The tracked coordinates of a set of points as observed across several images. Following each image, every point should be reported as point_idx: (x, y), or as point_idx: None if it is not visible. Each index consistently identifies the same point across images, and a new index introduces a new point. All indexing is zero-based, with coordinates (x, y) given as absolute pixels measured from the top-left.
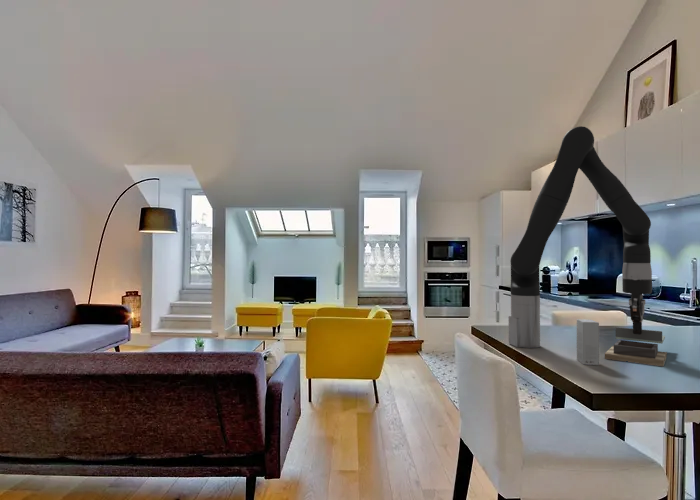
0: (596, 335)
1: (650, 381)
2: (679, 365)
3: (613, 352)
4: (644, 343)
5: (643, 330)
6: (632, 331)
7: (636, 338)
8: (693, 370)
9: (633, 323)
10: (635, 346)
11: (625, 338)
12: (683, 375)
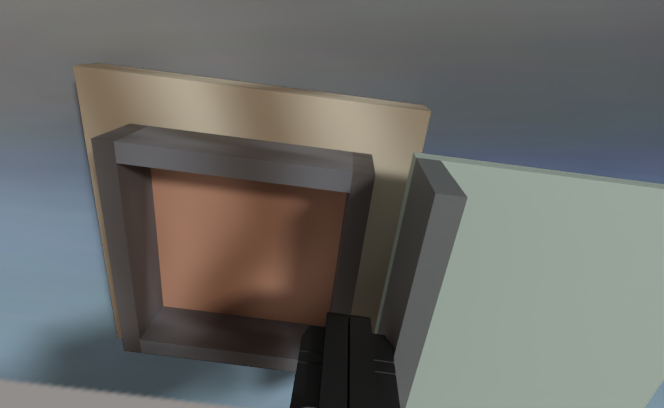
0: None
1: None
2: (210, 368)
3: (159, 122)
4: None
5: None
6: (395, 314)
7: (384, 298)
8: (148, 394)
9: (321, 395)
10: (338, 258)
11: (399, 227)
12: (23, 359)
